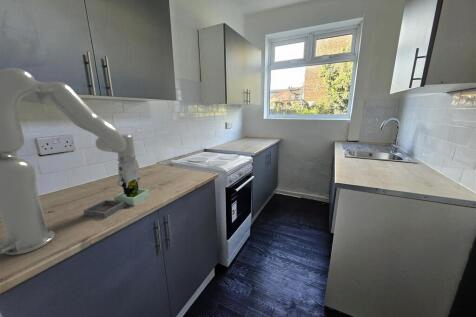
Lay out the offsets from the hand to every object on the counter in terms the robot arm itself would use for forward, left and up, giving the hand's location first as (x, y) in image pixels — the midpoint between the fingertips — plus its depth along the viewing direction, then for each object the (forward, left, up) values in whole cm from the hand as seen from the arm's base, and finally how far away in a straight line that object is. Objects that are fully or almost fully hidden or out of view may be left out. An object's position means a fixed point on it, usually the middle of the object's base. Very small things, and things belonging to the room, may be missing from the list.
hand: (131, 191), depth 104 cm
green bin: (0, 0, -5) cm, 5 cm away
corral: (-13, +4, -5) cm, 14 cm away
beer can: (0, 0, -3) cm, 3 cm away
